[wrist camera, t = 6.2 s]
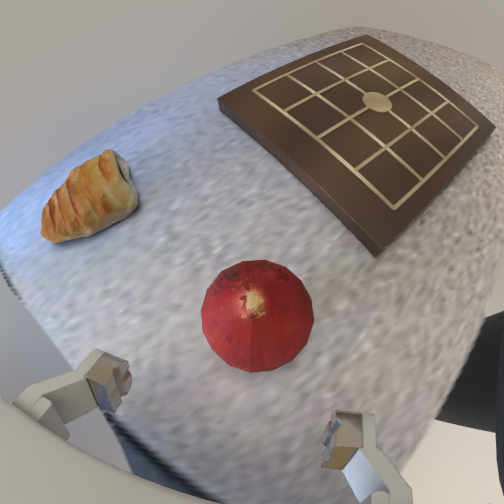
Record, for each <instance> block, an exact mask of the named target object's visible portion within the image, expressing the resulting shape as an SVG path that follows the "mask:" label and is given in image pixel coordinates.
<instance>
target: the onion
mask: <svg viewBox="0 0 504 504" xmlns="http://www.w3.org/2000/svg"><path fill="white" fill-rule="evenodd" d="M201 316H202V328H203V333H204V335H205V337H206V339H207V340H208V342H209V344H210V346H211V348H212V350H213V351H214V352H215V353H216V354H218V355H219V356H220V357H221V358H222V359H223V360H224V361H225V362H226V363H227V364H228V365H230V366H232V367H235V368H238V369H241V370H244V371H247V372H250V373H251V372H261V371H271V370H274V369H276V368H278V367H280V366H282V365H284V364H286V363H288V362H290V361H292V360H293V359H294V358H295V357H296V355H297V354H298V353H299V352H300V351H301V350H302V349H303V347H304V346H305V345H306V344H307V341H308V338H309V335H310V332H311V329H312V326H313V322H314V317H313V309H312V301H311V298H310V296H309V294H308V292H307V290H306V288H305V287H304V285H303V283H302V281H301V280H300V279H299V278H298V277H297V276H295V275H294V274H293V273H292V272H291V271H290V270H289V269H288V268H287V267H284V266H281V265H278V264H276V263H273V262H270V261H267V260H255V261H242V262H240V263H238V264H236V265H234V266H232V267H230V268H228V269H225V270H223V271H221V273H220V274H219V275H218V277H217V278H216V279H215V280H214V282H213V283H212V284H211V285H210V287H209V288H208V289H207V292H206V295H205V299H204V302H203V305H202V309H201Z"/></svg>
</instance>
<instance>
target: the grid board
mask: <svg viewBox="0 0 504 504" xmlns="http://www.w3.org/2000/svg"><path fill="white" fill-rule="evenodd" d="M217 100H218V104H219V109H220V110H221V111H222V112H223V113H225V114H226V115H227V116H228V117H229V118H231V119H232V120H233V121H234V122H235V123H236V124H238V125H239V126H240V127H241V128H242V129H244V130H245V131H246V132H247V133H248V134H249V135H250V136H252V137H253V138H254V139H255V140H256V141H257V142H258V143H260V144H261V145H262V146H263V147H264V148H265V149H266V150H267V151H269V152H270V153H271V154H272V155H273V156H274V157H275V158H276V159H277V160H279V161H280V162H281V163H282V164H283V165H284V166H285V167H286V168H287V169H288V170H289V171H290V172H292V173H293V174H294V175H295V176H296V177H297V178H298V179H299V180H300V181H301V182H302V183H303V184H304V185H305V186H306V187H307V188H308V189H309V190H311V191H312V192H313V193H314V194H315V195H316V196H317V197H318V198H319V199H320V200H321V201H322V202H323V203H324V204H325V205H326V206H327V207H328V208H329V209H330V210H331V211H332V212H333V213H334V214H335V215H336V216H337V217H338V218H339V219H340V220H341V221H342V222H343V223H344V224H345V225H346V226H347V227H348V228H349V229H350V231H351V232H352V233H353V234H354V235H355V236H356V237H357V238H358V239H359V240H360V241H361V242H362V243H363V244H364V245H365V246H366V247H367V248H368V250H369V251H370V252H371V253H372V254H373V255H374V256H375V257H377V256H378V255H379V254H380V253H381V252H382V251H383V250H384V249H385V248H386V247H387V246H388V245H389V244H390V243H391V242H392V241H394V240H395V239H396V238H397V237H398V236H399V235H400V234H401V233H402V232H403V231H404V230H405V229H406V228H407V227H408V226H409V225H410V224H411V223H412V222H413V221H414V220H415V219H416V218H417V217H418V216H419V215H420V214H421V213H422V212H423V210H424V209H425V208H426V207H427V206H428V205H429V204H430V203H431V202H432V201H433V200H434V199H435V198H436V197H437V196H438V195H439V194H440V193H441V192H442V190H443V189H444V188H445V187H446V186H447V185H448V184H449V183H450V182H451V181H452V180H453V178H454V177H455V176H456V175H457V174H458V173H459V172H460V171H461V169H462V168H463V167H464V166H465V165H466V164H467V163H468V161H469V160H470V159H471V158H472V157H473V156H474V155H475V153H476V152H477V151H478V150H479V149H480V147H481V146H482V145H483V144H484V143H485V141H486V140H487V139H488V138H489V137H490V135H491V134H492V132H493V131H494V129H495V128H496V127H495V126H494V125H493V124H492V123H491V122H490V121H489V120H488V119H487V118H486V117H485V116H484V115H482V114H481V113H480V112H479V111H478V110H477V109H476V108H475V107H473V106H472V105H471V104H470V103H469V102H467V101H466V100H465V99H464V98H463V97H461V96H460V95H459V94H458V93H456V92H455V91H454V90H453V89H451V88H450V87H449V86H447V85H446V84H445V83H443V82H442V81H441V80H439V79H438V78H437V77H435V76H434V75H432V74H431V73H430V72H428V71H427V70H425V69H424V68H422V67H421V66H419V65H418V64H416V63H415V62H413V61H412V60H410V59H409V58H407V57H406V56H404V55H402V54H401V53H399V52H397V51H396V50H394V49H392V48H391V47H389V46H387V45H386V44H384V43H382V42H380V41H379V40H377V39H375V38H373V37H371V36H369V35H368V34H366V35H363V36H360V37H357V38H354V39H351V40H348V41H345V42H342V43H339V44H336V45H334V46H331V47H328V48H325V49H323V50H320V51H318V52H315V53H312V54H310V55H307V56H305V57H303V58H300V59H298V60H295V61H293V62H291V63H288V64H286V65H284V66H282V67H279V68H277V69H275V70H273V71H270V72H268V73H266V74H264V75H262V76H260V77H258V78H256V79H254V80H252V81H250V82H247V83H245V84H244V85H242V86H240V87H238V88H236V89H234V90H232V91H230V92H228V93H226V94H224V95H222V96H221V97H219V98H217Z"/></svg>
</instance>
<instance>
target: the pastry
mask: <svg viewBox="0 0 504 504" xmlns="http://www.w3.org/2000/svg"><path fill="white" fill-rule="evenodd" d="M137 205H138V194H137V190H136V188H135V186H134V185H133V183H132V181H131V179H130V178H129V167H128V166H127V163H126V161H125V160H124V159H123V158H122V157H121V156H120V155H119V154H117V153H116V152H115V151H113V150H111V149H110V150H104V152H103V154H101V155H99V156H97V157H94V158H92V159H90V160H88V161H86V162H84V163H83V164H82V165H81V166H78V167H76V168H75V169H73V170H72V171H71V173H70V175H69V177H68V178H67V179H66V180H65V182H64V183H63V184H62V186H61V187H60V188H59V189H57V190H56V191H55V192H54V193H53V195H52V197H51V198H50V199H49V201H48V203H47V204H46V206H45V207H44V209H43V212H42V219H41V221H42V222H41V223H42V229H41V235H42V236H43V237H44V238H45V239H47V240H49V241H51V242H53V243H60V242H64V241H68V240H74V239H76V238H80V237H90V236H93V235H94V234H95V233H97V232H100V231H102V230H104V229H106V228H108V227H110V226H111V225H112V224H114V223H116V222H118V221H121V220H123V219H125V218H126V217H128V216H129V215H130V214H131V213H132V211H133V210H134V209H135V208H136V207H137Z"/></svg>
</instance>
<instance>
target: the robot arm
mask: <svg viewBox="0 0 504 504" xmlns="http://www.w3.org/2000/svg"><path fill="white" fill-rule="evenodd" d="M128 368H129V363H128V361H126V360H123V359H121V358H118V357H116V356H114V355H111V354H109V353H106V352H104V351H101V350H99V349H95V350H93V351H92V352H91V353H90V354H89V356H88V357H87V358H86V359H85V360H84V361H83V362H82V364H81V365H80V366H79V367H78V368H77V369H76V370H75V372H73V371H70V372H67V373H64V374H61V375H59V376H56V377H53V378H50V379H47V380H45V381H42V382H38V383H36V384H33V385H30V386H28V387H27V388H26V389H25V390H24V391H23V392H22V394H21V395H20V396H19V397H18V398H17V399H16V400H15V401H14V403H13V404H12V403H10V402H9V401H8V400H6V399H5V398H4V397H3V396H1V395H0V504H220V503H216V502H212V501H208V500H205V499H201V498H198V497H194V496H191V495H188V494H185V493H182V492H179V491H176V490H173V489H170V488H167V487H164V486H161V485H159V484H156V483H153V482H151V481H148V480H146V479H143V478H141V477H138V476H136V475H134V474H131V473H129V472H127V471H124V470H122V469H120V468H118V467H116V466H114V465H111V464H109V463H107V462H105V461H103V460H101V459H99V458H97V457H95V456H93V455H91V454H89V453H88V452H86V451H84V450H82V449H80V448H78V447H77V446H75V445H73V444H71V443H70V442H68V441H67V439H68V438H69V437H70V433H69V431H68V430H67V428H66V426H65V424H67V423H69V422H71V421H72V420H74V419H76V418H78V417H80V416H82V415H84V414H86V413H88V412H89V411H91V410H93V409H95V408H97V407H98V406H99V407H102V408H104V409H106V410H109V411H111V412H113V413H115V412H116V410H117V409H118V407H119V406H120V404H121V403H122V399H121V397H122V396H125V395H127V394H128V392H129V390H130V388H131V385H132V375H131V373H130V372H129V371H128ZM323 444H324V446H325V447H326V448H325V449H324V451H323V453H322V462H321V467H322V468H330V469H340V470H342V472H343V474H344V475H345V477H346V479H347V481H348V483H349V485H350V486H351V488H352V490H353V492H354V494H355V496H356V497H357V499H358V501H359V503H360V504H413V500H412V489H411V487H410V486H409V485H408V484H407V482H406V481H405V480H404V479H403V477H402V476H401V475H400V473H399V472H398V471H397V470H396V468H395V467H394V466H393V464H392V463H391V462H390V461H389V459H388V458H387V457H386V455H385V454H384V453H383V452H382V450H381V449H377V441H376V426H375V416H374V414H371V413H360V412H350V411H339V410H335V411H334V412H333V414H332V421H330V422H328V424H327V427H326V430H325V433H324V439H323Z"/></svg>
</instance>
